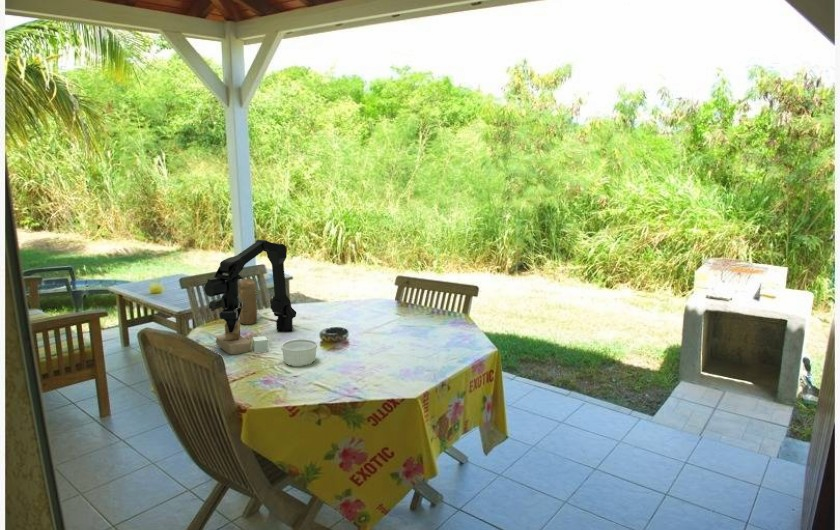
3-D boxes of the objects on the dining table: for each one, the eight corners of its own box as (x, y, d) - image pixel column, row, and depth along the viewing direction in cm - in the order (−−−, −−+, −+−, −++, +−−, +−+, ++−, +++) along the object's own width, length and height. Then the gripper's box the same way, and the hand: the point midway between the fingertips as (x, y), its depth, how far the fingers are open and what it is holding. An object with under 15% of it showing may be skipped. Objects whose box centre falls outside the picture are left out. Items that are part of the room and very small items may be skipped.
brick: (215, 345, 229) (214, 334, 229) (235, 341, 235) (234, 330, 234) (231, 357, 217) (230, 345, 216) (251, 352, 222) (251, 341, 222)
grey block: (265, 347, 227) (265, 336, 226) (267, 351, 223) (267, 339, 222) (252, 349, 225) (252, 337, 224) (254, 353, 221) (254, 341, 220)
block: (257, 324, 258) (256, 281, 254) (240, 325, 254) (239, 283, 251) (254, 317, 267) (253, 277, 263) (238, 319, 264) (236, 278, 260)
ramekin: (286, 370, 204) (286, 352, 203) (278, 358, 216) (277, 341, 214) (321, 364, 210) (321, 347, 209) (311, 353, 222) (311, 336, 220)
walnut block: (240, 335, 228) (239, 321, 227) (238, 339, 223) (238, 325, 222) (227, 335, 227) (226, 321, 226) (225, 340, 222) (224, 325, 221)
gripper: (214, 286, 229) (216, 323, 232) (204, 298, 211) (206, 337, 214) (242, 286, 231) (243, 322, 234) (235, 297, 213) (237, 336, 216)
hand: (232, 329), depth 224 cm, fingers open, 7 cm apart
